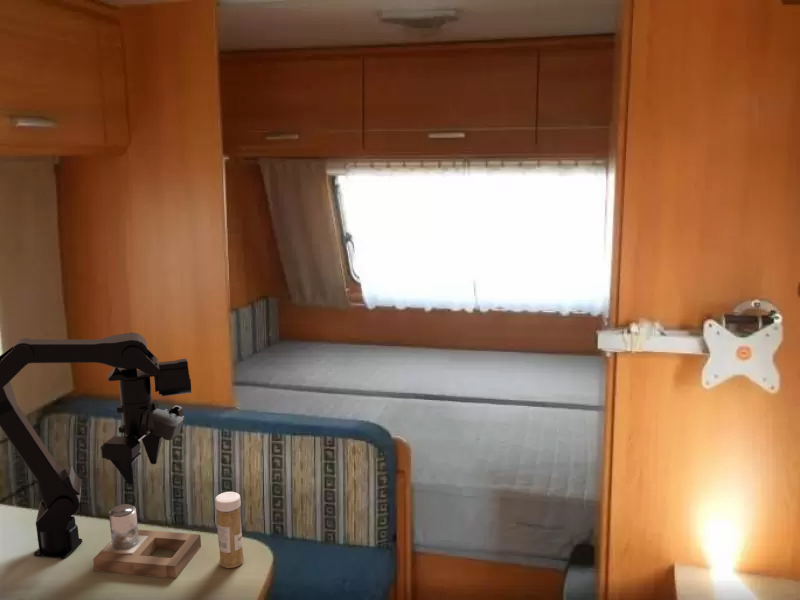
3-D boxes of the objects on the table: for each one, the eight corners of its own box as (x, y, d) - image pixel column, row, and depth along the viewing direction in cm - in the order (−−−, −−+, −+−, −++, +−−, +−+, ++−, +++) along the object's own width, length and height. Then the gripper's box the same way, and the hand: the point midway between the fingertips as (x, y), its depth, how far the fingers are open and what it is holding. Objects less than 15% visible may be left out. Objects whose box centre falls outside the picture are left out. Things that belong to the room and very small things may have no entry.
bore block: (94, 571, 140) (92, 557, 140) (124, 539, 151) (123, 527, 150) (176, 578, 138) (175, 564, 137) (201, 546, 149) (200, 533, 148)
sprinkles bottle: (247, 564, 142) (244, 498, 139) (224, 571, 140) (220, 504, 137) (238, 553, 146) (234, 488, 143) (215, 560, 144) (211, 494, 141)
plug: (107, 548, 143) (103, 514, 141) (120, 535, 147) (117, 502, 146) (130, 551, 142) (127, 517, 140) (143, 537, 146) (140, 504, 145)
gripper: (152, 419, 137) (159, 498, 140) (196, 385, 155) (200, 456, 158) (95, 415, 139) (103, 494, 142) (144, 382, 157) (150, 453, 160)
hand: (142, 473), depth 151 cm, fingers open, 9 cm apart
